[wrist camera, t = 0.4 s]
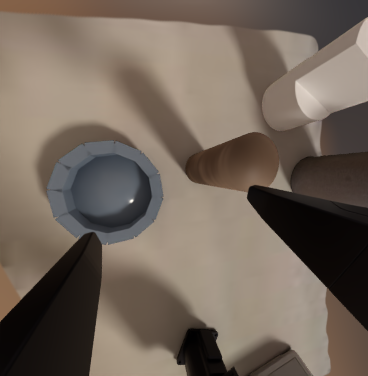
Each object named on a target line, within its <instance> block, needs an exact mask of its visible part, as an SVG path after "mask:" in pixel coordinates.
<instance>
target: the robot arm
mask: <svg viewBox="0 0 368 376" xmlns="http://www.w3.org/2000/svg"><path fill="white" fill-rule="evenodd" d="M247 199H248V201H249V202H250V204H251V205H252V206H253V208H254V209H255V210H256V211H257V213H258V214H259V215H260V216H261V218H262V219H263V220H264V221H265V222H266V223H267V224H268V225H269V227H270V228H271V229H272V230H273V231H274V232H275V233H276V234H277V235H278V236H279V237H280V238H281V239H282V240H283V241H284V242H285V244H286V245H287V246H288V247H289V248H290V249H291V250H292V251H293V252H294V253H295V254H296V255H297V256H298V257H299V258H300V259H301V261H302V262H303V263H304V264H305V265H306V266H307V267H308V268H309V269H310V270H311V271H312V272H313V273H314V274H315V275H316V276H317V277H318V279H319V280H320V281H321V282H322V283H323V284H324V285H325V286H326V287H327V288H328V289H329V290H330V291H331V293H332V294H333V295H334V296H335V297H336V298H337V299H338V300H339V301H340V302H341V303H342V304H343V305H344V306H345V307H346V308H347V310H349V312H350V313H351V314H352V315H353V316H354V317H355V318H356V319H357V320H358V321H359V322H360V323H361V324H362V325H363V326H364V328H365V329H366V330H367V331H368V208H367V207H361V206H356V205H350V204H345V203H340V202H336V201H331V200H326V199H321V198H317V197H312V196H307V195H302V194H298V193H293V192H288V191H283V190H279V189H274V188H269V187H264V186H260V185H253V186H250V187H249V189H248V195H247ZM101 278H102V244H101V241H100V240H99V238H98V236H97V235H96V233H95V232H89V233H86V234H84V235H83V236H82V237H81V238H80V239H79V240H78V241H77V242H76V243H75V244H74V245H73V246H72V247H71V248H70V249H69V250H68V251H67V252H66V253H65V254H64V256H63V257H62V258H61V259H60V260H59V261H58V262H57V263H56V264H55V265H54V266H53V267H52V268H51V269H50V270H49V271H48V272H47V273H46V274H45V275H44V276H43V278H42V279H41V280H40V281H39V282H38V283H37V284H36V285H35V286H34V287H33V288H32V289H31V290H30V291H29V292H28V293H27V294H26V295H25V296H24V297H23V298H22V299H21V301H20V302H19V303H18V304H17V305H16V306H15V307H14V308H13V309H12V310H11V311H10V312H9V313H8V314H7V315H6V316H5V317H4V318H3V319H2V320H1V322H0V376H89V372H90V364H91V357H92V349H93V341H94V333H95V326H96V318H97V310H98V302H99V295H100V287H101ZM217 337H218V332H217V331H216V330H201V329H189V330H188V331H187V333H186V336H185V339H184V341H183V344H182V347H181V349H180V352H179V355H178V357H177V364H178V365H185V367H186V372H187V376H239V375H238V374H237V372H236V370H235V368H234V367H232V368H231V370H229V371H228V372H227V370H226V367H225V365H224V363H223V360H222V355H221V353H220V350H219V348H218V346H217V343H216V339H217Z"/></svg>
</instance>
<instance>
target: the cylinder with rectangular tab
mask: <svg viewBox="0 0 368 376" xmlns="http://www.w3.org/2000/svg"><path fill="white" fill-rule="evenodd" d="M366 101H368V18H366V19H364V20H363V21H362V22H360V23H358V24H357V25H356V26H354V27H353V28H351V29H350V30H348V31H347V32H346V33H344V34H343V35H341V36H340V37H339V38H337V39H336V40H334V41H333V42H331V43H330V44H329V45H327V46H326V47H324V48H323V49H321V50H320V51H319V52H317V53H316V54H314V55H313V56H312V57H310V58H307V59H306V60H305V61H303V62H302V63H300V64H299V65H298V66H296V67H295V68H293V69H292V70H290V71H289V72H288V73H286V74H285V75H283V76H282V77H281V78H279V79H278V80H276V81H275V82H274V83H272V84H271V85H270V86H269V87H268V88H267V89H266V91H265V93H264V96H263V99H262V112H263V116H264V119H265V120H266V122H267V124H268V125H269V126H270V127H271V128H272V129H274V130H276V131H286V130H289V129H292V128H296V127H299V126H302V125H306V124H309V123H312V122H315V121H319V120H322V119H324V118H325V117H327V116H328V115H329V114H330V113H332V112H335V111H339V110H342V109H345V108H347V107H351V106H354V105H357V104H360V103H363V102H366Z"/></svg>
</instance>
